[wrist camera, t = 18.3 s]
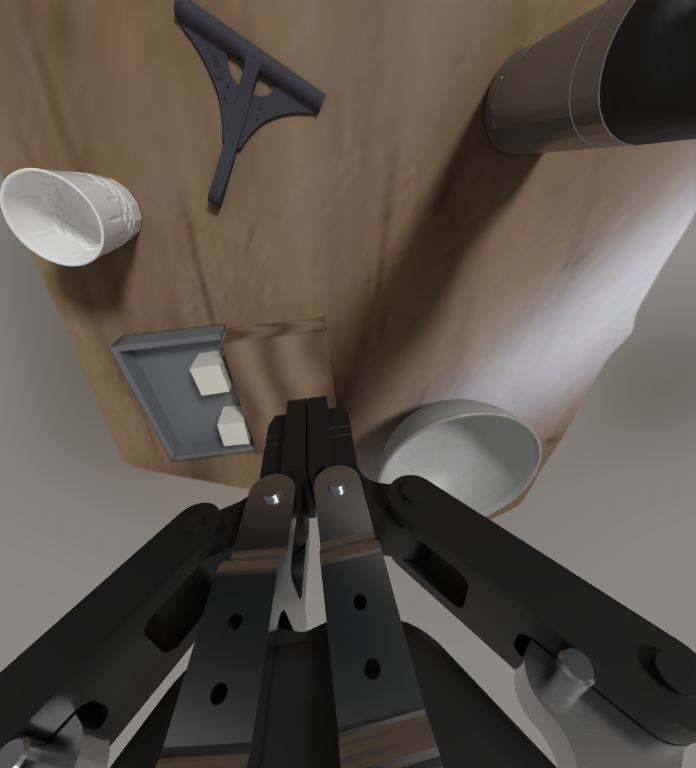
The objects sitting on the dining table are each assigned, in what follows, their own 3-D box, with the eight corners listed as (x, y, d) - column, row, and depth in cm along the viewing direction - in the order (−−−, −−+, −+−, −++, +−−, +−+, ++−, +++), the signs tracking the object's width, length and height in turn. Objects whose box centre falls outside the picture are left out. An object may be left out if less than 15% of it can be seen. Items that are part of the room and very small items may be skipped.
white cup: (159, 206, 38) (117, 216, 29) (130, 260, 40) (85, 283, 32) (85, 150, 34) (14, 143, 26) (59, 213, 37) (-12, 226, 29)
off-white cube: (243, 422, 50) (217, 424, 49) (249, 443, 52) (224, 446, 52) (248, 404, 53) (223, 406, 53) (253, 425, 56) (229, 427, 56)
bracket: (152, 169, 36) (141, 169, 34) (182, -4, 29) (172, -18, 27) (275, 232, 41) (273, 236, 39) (325, 96, 34) (326, 91, 32)
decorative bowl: (368, 484, 69) (379, 538, 59) (360, 379, 54) (373, 427, 44) (491, 466, 70) (522, 516, 60) (516, 359, 55) (563, 401, 45)
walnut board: (324, 317, 47) (326, 331, 43) (338, 421, 58) (341, 440, 54) (228, 328, 46) (220, 344, 42) (260, 431, 58) (257, 452, 53)
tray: (224, 323, 46) (219, 334, 43) (260, 435, 58) (257, 449, 55) (121, 335, 45) (109, 347, 42) (179, 446, 57) (172, 461, 54)
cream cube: (219, 364, 44) (189, 369, 44) (229, 391, 46) (201, 395, 46) (225, 349, 48) (198, 353, 47) (235, 375, 50) (209, 379, 50)
